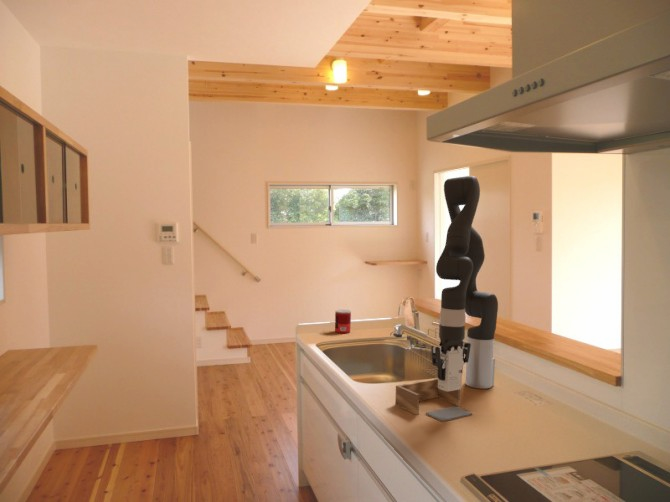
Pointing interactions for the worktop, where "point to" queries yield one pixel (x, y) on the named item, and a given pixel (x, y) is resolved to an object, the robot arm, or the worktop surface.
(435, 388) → the brown wooden u-shaped piece
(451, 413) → the grey mat
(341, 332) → the canned food
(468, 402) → the worktop surface
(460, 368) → the skincare box
